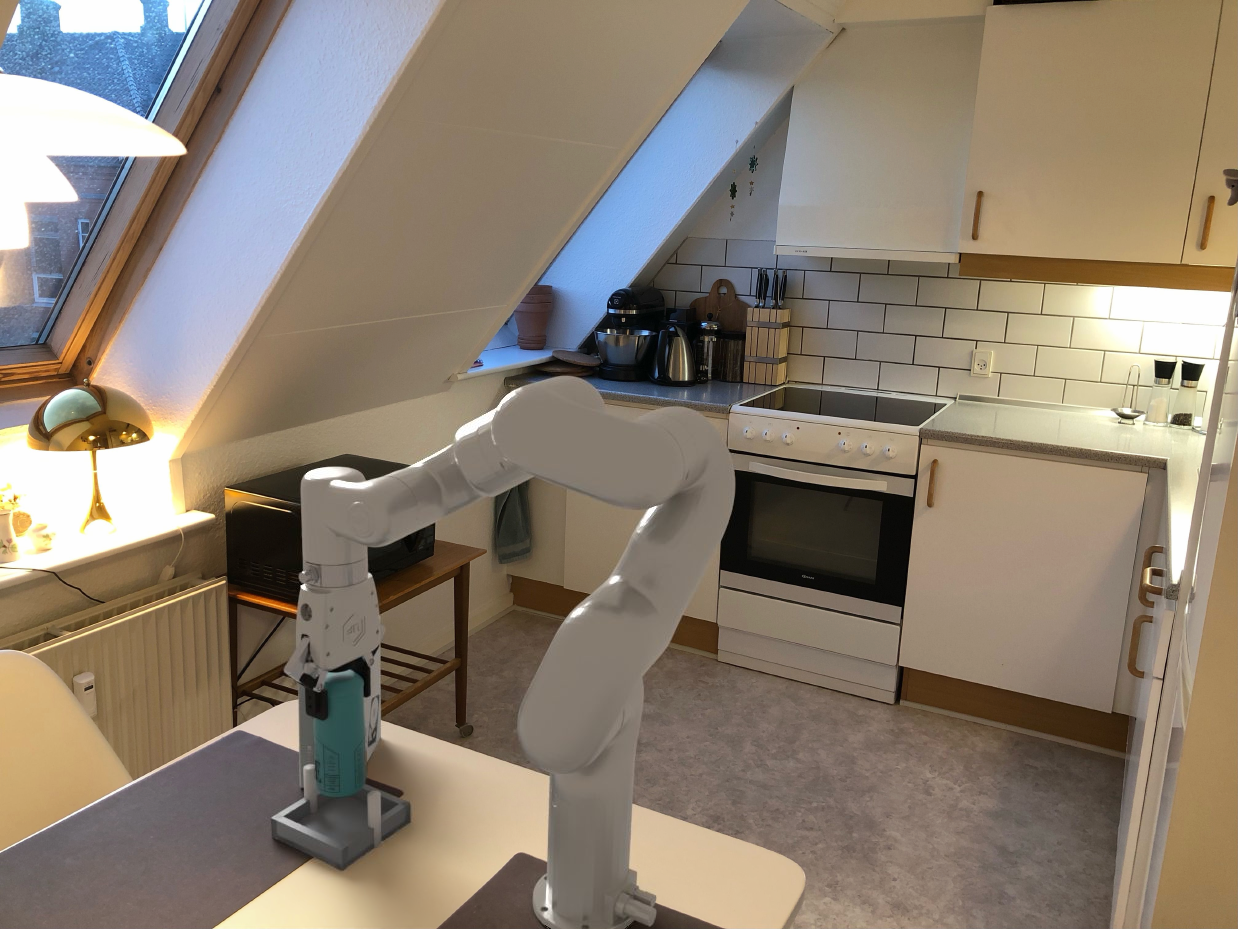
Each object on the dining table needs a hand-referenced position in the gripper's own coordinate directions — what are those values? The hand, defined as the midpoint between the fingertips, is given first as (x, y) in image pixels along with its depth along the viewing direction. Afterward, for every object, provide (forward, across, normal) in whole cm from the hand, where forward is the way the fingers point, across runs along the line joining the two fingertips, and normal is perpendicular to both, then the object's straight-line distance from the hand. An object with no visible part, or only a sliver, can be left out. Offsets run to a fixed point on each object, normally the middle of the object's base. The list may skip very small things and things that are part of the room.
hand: (339, 704), depth 123 cm
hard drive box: (+18, +12, +12) cm, 25 cm away
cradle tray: (+18, 0, 0) cm, 18 cm away
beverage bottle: (+13, 0, 0) cm, 13 cm away
